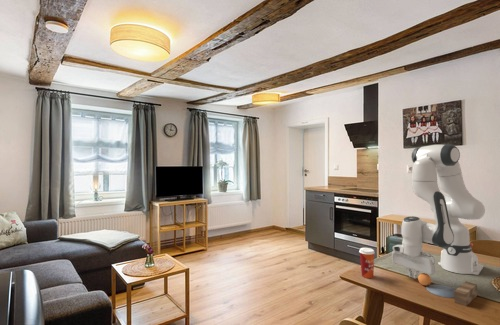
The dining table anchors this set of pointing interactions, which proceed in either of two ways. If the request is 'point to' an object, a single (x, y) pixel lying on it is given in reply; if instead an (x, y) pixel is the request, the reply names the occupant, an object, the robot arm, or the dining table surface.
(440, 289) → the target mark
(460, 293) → the block
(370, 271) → the paper cup
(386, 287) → the dining table surface
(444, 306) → the dining table surface
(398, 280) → the dining table surface
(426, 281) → the ball
